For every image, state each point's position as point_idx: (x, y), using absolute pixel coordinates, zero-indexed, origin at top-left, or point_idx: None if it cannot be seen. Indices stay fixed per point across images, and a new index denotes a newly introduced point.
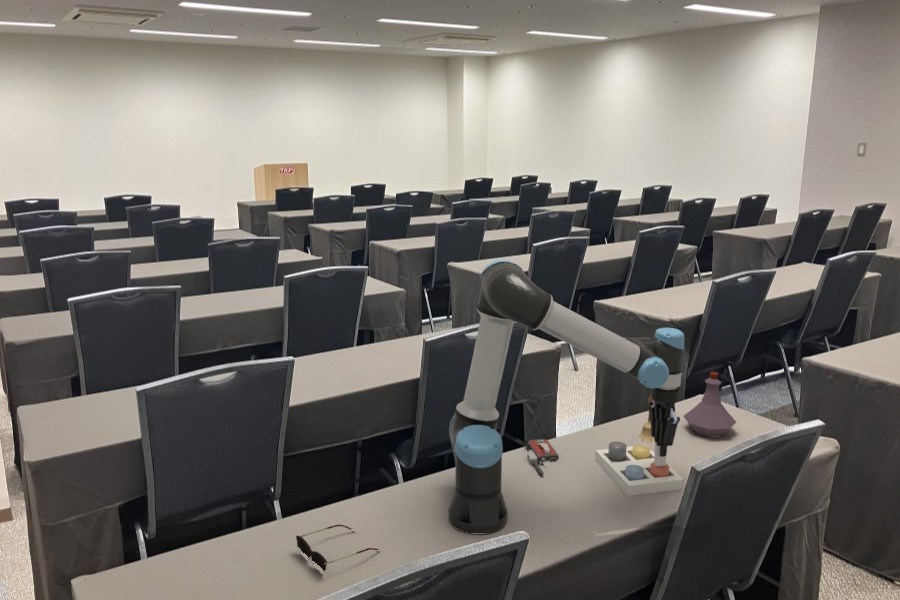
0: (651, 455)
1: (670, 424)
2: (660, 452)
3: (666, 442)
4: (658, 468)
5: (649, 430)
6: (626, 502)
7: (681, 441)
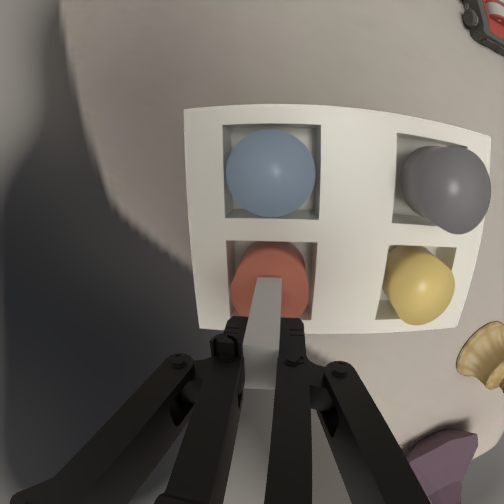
0: (398, 316)
1: (49, 482)
2: (242, 327)
3: (153, 380)
4: (250, 279)
5: (492, 365)
6: (185, 102)
7: (439, 404)
